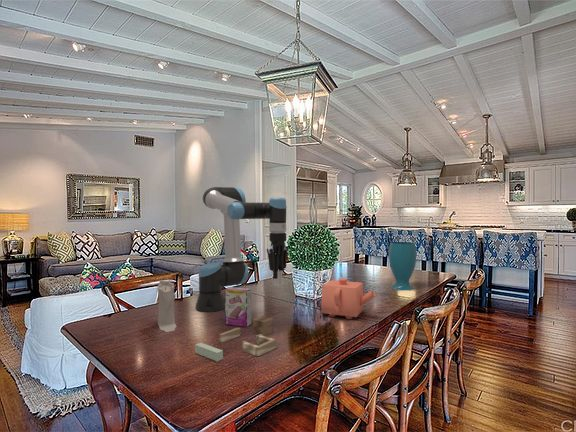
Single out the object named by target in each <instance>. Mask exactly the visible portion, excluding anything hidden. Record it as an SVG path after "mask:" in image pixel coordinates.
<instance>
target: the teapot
mask: <svg viewBox="0 0 576 432" xmlns="http://www.w3.org/2000/svg"><path fill="white" fill-rule="evenodd" d="M376 296H377V295H376V293H375V292H374V291H373V290H370V291H368V292H367V293H365V294H364V283H363V282H360V281H359V282H358V281H356V282H355V281H348V279H347V278H346V277H345V278H344V277H341V278H338V280H332V279H331V280H329V281H327V282H325V284H323V285H322V287H321V303H320V304H321V313H322V314H326V315H327V314H328V317H330V318H335V317H336V316H341V317H345V319H346V320H352V319H353V318H358V317H359V315H360V314H361V313H362V312H363V311H364V305H365V304H366V303H368V302H369V301H371V300H372V299H374V298H376Z"/></svg>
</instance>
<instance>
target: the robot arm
mask: <svg viewBox="0 0 576 432" xmlns="http://www.w3.org/2000/svg"><path fill="white" fill-rule="evenodd" d="M202 195H203V196H202V203H203V204H204V205H205V206H206V207H207V208H209V209H213V210H219V211H220V213H221V214H222V215H223V228H224V230H223V231H224V233H223V234H224V253H225V254H224V256H225V258H224V259H223V260H222V263H221V262H210V263H206V264H203V265H201V266H200V267H199V269H198V297H197V301H196V303H195V310H196V311H199V312H203V313H213V312H218V311H222V310H225V300H224V299H225V298H224V296H223V293H222V288H224V287H233V286H239V285H242V284H244V283H246V282H247V280H248V278H249V267H248V264H247V263H246V262H245V260H244V258H243V257H242V249H241V247H242V246H241V245H242V244H241V227H240V226H241V222H240V220H260V219H261V220H267V219H268V220H269V221H268V222H269V224H268V225H269V227H268V229H269V232H270V233H269V241H270V245H269V246H270V247H269V248H266V253H267V257H268V258H267V259H268V265H269V271H271V272H272V273H273V274H272V278H273V286H274V287H280V286H283V276H284V272H283V271H285V270H286V269H287V261H288V259H287V258H288V252H289V248H290V247H289V246H287V245H286V243H285V242H287V208H288V207H287V199H286V198H285V197H270V199H269V201H268V202H249V201H248V202H247V201H246V200H247V199H246V194H245V193H244V191H243V190H242V189H241V188H239V187H231V186H230V187H227V186H226V187H225V186H224V187H223V186H222V187H220V186H214V187H213V186H211V187H210V188H208V189H206V190H205V191H204V193H203V194H202Z"/></svg>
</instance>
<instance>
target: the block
mask: <svg viewBox="0 0 576 432" xmlns="http://www.w3.org/2000/svg"><path fill="white" fill-rule="evenodd" d="M252 332H253V334H254V335H256V336H257V335H259V334H262V335H263V336H265V337H267V336H269V335H271V334H273V333H274V317H269V316H265V315H262V316H258V317H255V318H253V320H252Z"/></svg>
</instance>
